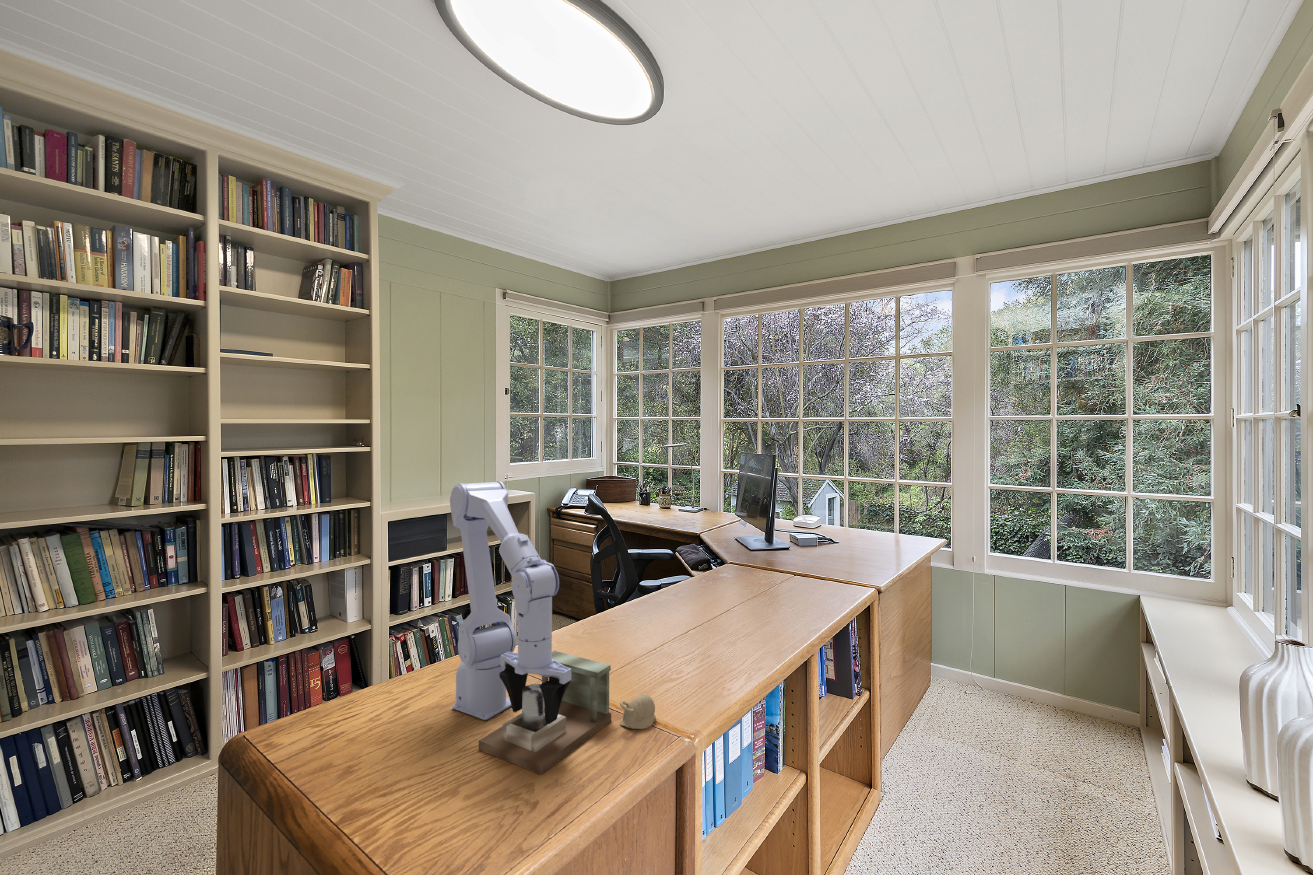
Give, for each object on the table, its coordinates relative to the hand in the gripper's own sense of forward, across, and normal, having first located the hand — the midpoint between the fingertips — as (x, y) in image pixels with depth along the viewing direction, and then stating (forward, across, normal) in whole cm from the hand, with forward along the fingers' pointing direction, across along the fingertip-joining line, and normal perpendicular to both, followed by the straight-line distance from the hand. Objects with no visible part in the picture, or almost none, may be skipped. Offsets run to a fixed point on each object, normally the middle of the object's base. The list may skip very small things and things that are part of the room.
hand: (534, 715), depth 94 cm
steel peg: (+3, 0, 0) cm, 3 cm away
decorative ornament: (+5, +12, +15) cm, 19 cm away
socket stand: (+5, 0, +4) cm, 6 cm away
